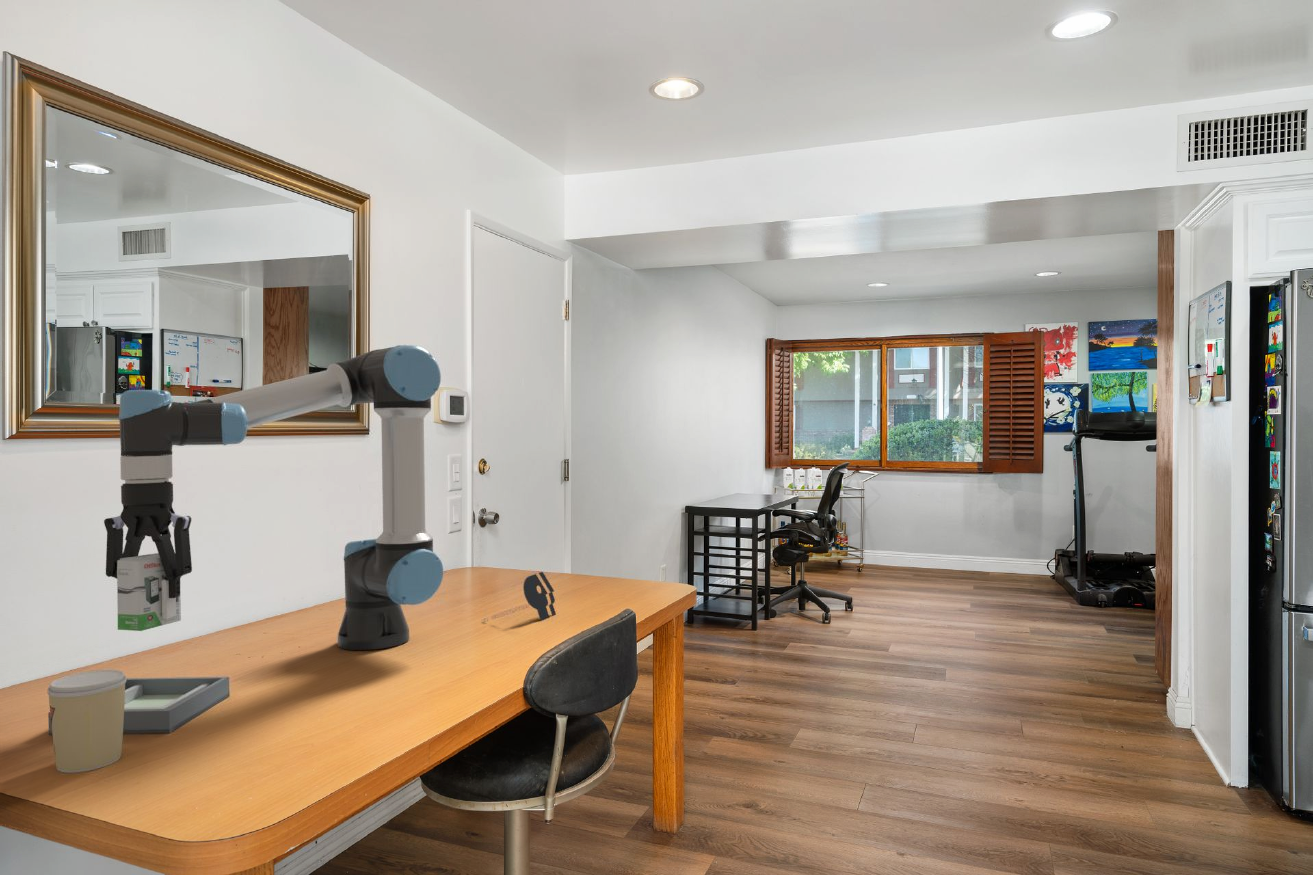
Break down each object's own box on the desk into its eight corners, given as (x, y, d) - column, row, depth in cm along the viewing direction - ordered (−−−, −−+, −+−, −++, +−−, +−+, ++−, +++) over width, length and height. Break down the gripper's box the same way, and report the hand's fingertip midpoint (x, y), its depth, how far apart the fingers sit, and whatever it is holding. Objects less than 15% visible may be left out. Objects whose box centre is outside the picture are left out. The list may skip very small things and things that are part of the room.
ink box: (140, 632, 136) (138, 560, 136) (115, 630, 137) (114, 559, 137) (182, 620, 144) (181, 552, 144) (159, 619, 146) (158, 551, 145)
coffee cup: (75, 750, 123) (73, 670, 123) (141, 747, 124) (139, 667, 124) (33, 777, 114) (31, 689, 114) (105, 773, 114) (103, 686, 114)
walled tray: (229, 696, 148) (229, 676, 148) (169, 732, 130) (169, 710, 130) (123, 697, 148) (122, 678, 148) (48, 734, 130) (48, 712, 130)
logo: (585, 604, 207) (570, 561, 209) (536, 624, 192) (521, 577, 194) (538, 619, 217) (524, 578, 218) (488, 640, 202) (474, 595, 203)
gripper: (214, 479, 144) (217, 611, 144) (106, 480, 144) (109, 613, 145) (189, 481, 137) (192, 621, 137) (76, 483, 137) (79, 623, 137)
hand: (150, 617), depth 141 cm, fingers closed on ink box, 6 cm apart
